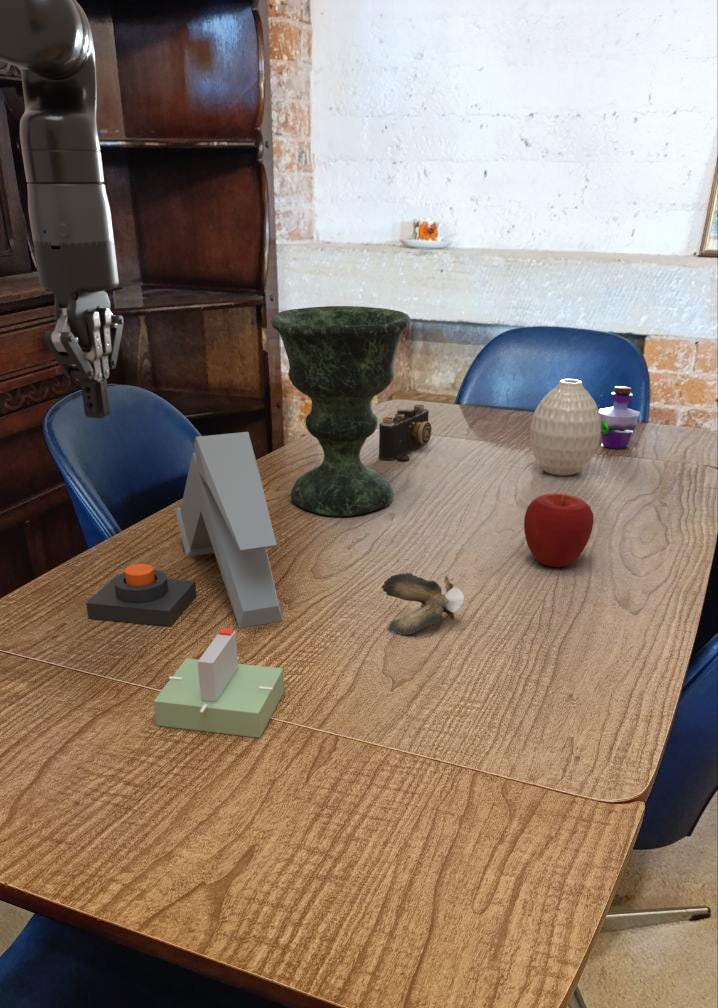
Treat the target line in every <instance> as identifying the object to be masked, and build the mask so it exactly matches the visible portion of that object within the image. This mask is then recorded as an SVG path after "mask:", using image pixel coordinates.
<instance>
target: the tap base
mask: <svg viewBox="0 0 718 1008" xmlns="http://www.w3.org/2000/svg"><path fill="white" fill-rule="evenodd" d="M239 659H240V657H239V656H238V660H239ZM198 660H199V658H198V659H197V658H185V659H184V661H183V662H182V663H181V664H180V666H179V667H178V669H177V670H176V671H175V672H174V674H173V675H172V676H171V675H170V676H168V681H167V683H166V684H165V686H164V687H163V688H162V689H161V690H160V692H159V693H158V694H157V696H156V697H155V698H154V699H153V708H154V716H155V724H156V726H157V727H166V728H172V729H173V728H174V729H180V730H190V731H199V732H206V733H216V734H223V735H230V736H231V735H232V736H239V737H240V736H241V737H249V738H257V739H260V738H261V737H262V735H263V733H264V731H265V729H266V727H267V726H268V723H269V721H270V720H271V718H272V716H273V714H274V712H275V710H276V708H277V706H278V705H279V703H280V700H281V699H282V698H283V695H284V693H285V679H284V676H285V675H284V668H282V667H273V666H264V665H263V666H262V665H255V664H245V663H238V669H237V671H236V672H235V674H234V675H233V677H232V678H231V680H230V681H229V683H228V684H227V686H226V687H225V689H224V691H223V692H222V694H221V695H220V697H219V698H218V700H217V701H216V702H212V701H204V700H201V693H200V683H199V672H198Z"/></svg>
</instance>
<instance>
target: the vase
mask: <svg viewBox="0 0 718 1008" xmlns="http://www.w3.org/2000/svg"><path fill="white" fill-rule="evenodd" d="M599 410H600V409H599V408H598V405H597V403H596V401H595V400H594V397H593V396H592V395H591V393H590V392H589V391H588V390H587V389H586V388H585V387H584V385H583V382H582V380H579V379H574V378H564V379H561V380H559V382H558V384H557V385H556V386H555V387H553V389H551V390H550V391H549V392H548V393H547V394H546V395H544V396H543V398H542V399H541V400H540V402H539V403H538V405H537V407H536V408H535V410H534V412H533V415H532V418H531V422H530V426H529V444H530V449H531V451H532V455H533V457H534V458H535V460H536V462H537V464H538V465H539V466H540V468H541V469H542V470H543V471H544V472H545V473H547V474H549V475H553V476H560V477H568V476H569V477H570V476H575V475H577V474H578V473H579V472H580V471H581V470H582V469H584V468H585V467H586V466H587V465H588V463H589V462H590V461H591V459H592V458H593V456H594V455H595V453H596V451H597V449H598V447H599V444H600V441H601V440H600V439H601V436H602V434H601V418H600V413H599Z"/></svg>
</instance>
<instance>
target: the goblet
mask: <svg viewBox="0 0 718 1008" xmlns="http://www.w3.org/2000/svg"><path fill="white" fill-rule="evenodd" d="M411 322H412V321H411V317H410V316H409V314H407V313H406V312H404V311H403V312H402V311H400V310H395V309H390V308H382V307H371V306H359V305H358V306H357V305H328V306H327V305H326V306H312V307H301V308H293V309H288V310H281V311H279V312H276V313H274V315H272V316H271V319H270V323H271V326H272V328H273V329H274V330H275V331H277V332H278V334H279V336H280V338H281V340H282V343H283V348H284V350H285V353H286V356H287V360H288V365H289V369H288V373H287V376H288V379H289V381H290V382H291V384H292V386H293V387H294V388H295V389H297V390H298V391H299V392H300V393H302V394H303V395H305V396H307V397H309V399H310V402H311V408H310V409H311V410H310V412H309V414H307V416H306V417H305V426H306V430H307V431H308V433H309V434H310V435H311V436H312V437H313V438H316V440H317V442H318V444H319V445H320V447H321V449H322V452H323V460H322V462H321V464H320V465H319V466H317V467H315V468H313V469H311V470H308V471H306V472H305V473H304V474H301V476H299V477H298V478H297V479H296V481H295V482H294V484H293V486H292V488H291V491H290V495H289V496H290V500H291V501H292V502H293V503H294V504H295V505H296V506H298V507H300V508H301V509H304V510H306V511H309V512H312V513H315V514H318V515H322V516H329V517H351V516H352V517H353V516H359V515H365V514H367V513H368V514H369V513H371V512H374V511H377V510H380V509H381V508H384V507H387V505H389V504H390V503H392V501H393V500H394V498H395V494H394V490H393V487H392V485H391V483H390V482H389V481H388V479H387V478H386V477H385V476H384V475H382V474H381V473H380V472H378V471H377V470H374V469H371V468H370V467H367V466H365V464H364V463H363V462H362V460H361V450H362V448H363V446H364V445H365V442H366V440H367V439H368V438H370V437H371V436H372V435H373V434H374V433H376V432H375V431H376V430H377V428H378V425H379V424H378V423H379V420H378V417H377V415H376V414H375V413H374V411H373V408H372V401H373V399H374V397H376V396H378V395H379V394H380V393H383V392H384V391H385V390H386V389H387V388H388V387H389V386H390V385H391V384H392V382H393V381H394V376H395V371H394V361H395V357H396V354H397V351H398V347H399V344H400V340H401V338H402V335H403V334H404V332H405V331H406V330H407V329H408V328H409V327H410V325H411Z"/></svg>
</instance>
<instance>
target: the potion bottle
mask: <svg viewBox="0 0 718 1008" xmlns="http://www.w3.org/2000/svg"><path fill="white" fill-rule="evenodd" d="M633 396H634V395H633V393H632V387H629V386H624V385H615V386H614V389H613V391H612V392H611V394H610V401H612V402H613V406H610V407H604V408H599V409H598V410H599V413H600V418H601V445H600V446H601V447H603V448H604V449H607V450H619V451H620V450H625V449H628V446H629V443H630V439H631V437H632V434H633V431H635V429H636V426H637V423H638V421H639V418H640V414H641V411H639V410H635V409H632V408H629V407H628V403H631V402H632V401H633Z"/></svg>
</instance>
